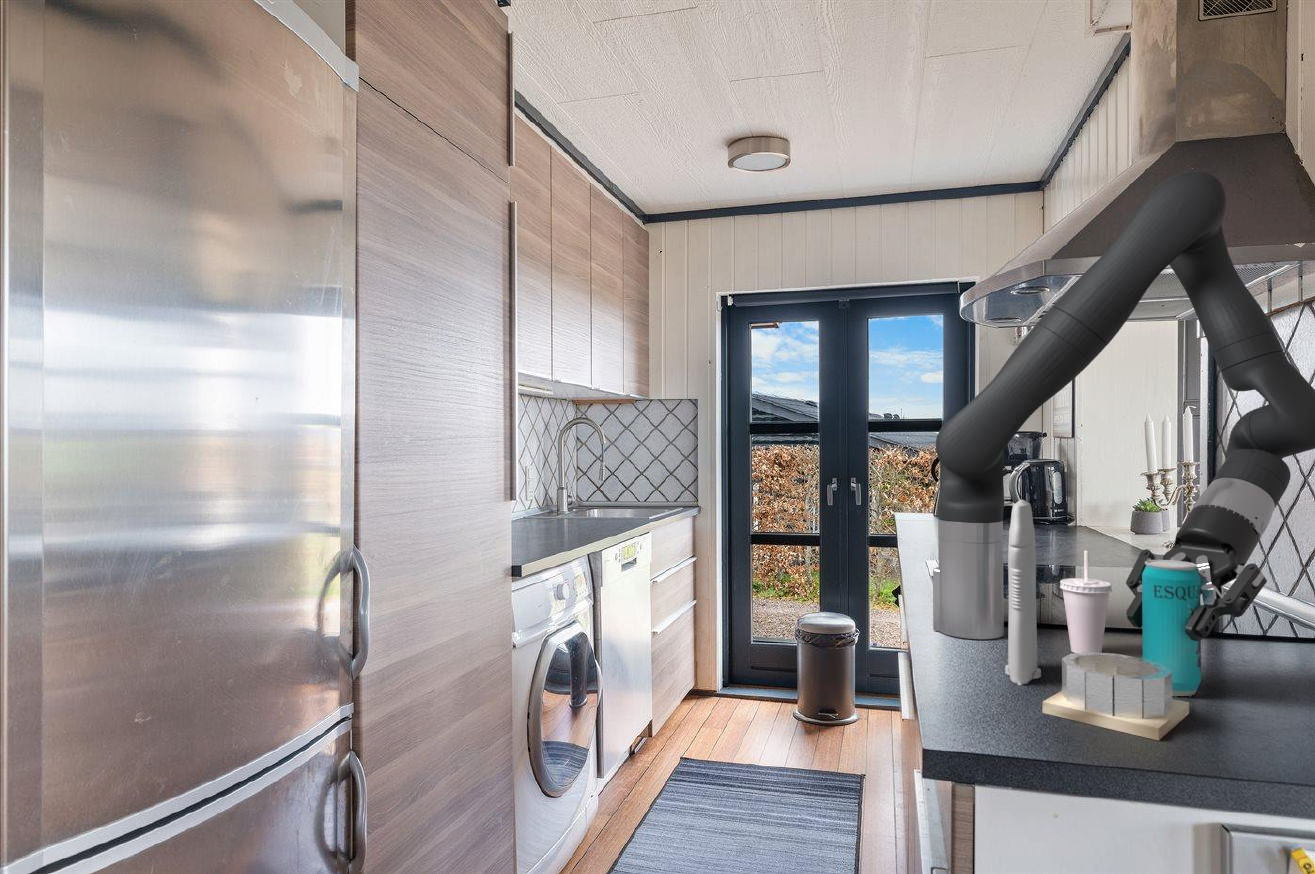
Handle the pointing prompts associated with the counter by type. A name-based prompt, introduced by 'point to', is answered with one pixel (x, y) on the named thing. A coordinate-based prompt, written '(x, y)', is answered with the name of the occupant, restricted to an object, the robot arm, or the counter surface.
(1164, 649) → the beverage can
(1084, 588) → the smoothie
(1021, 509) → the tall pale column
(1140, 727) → the base board
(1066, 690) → the collar
